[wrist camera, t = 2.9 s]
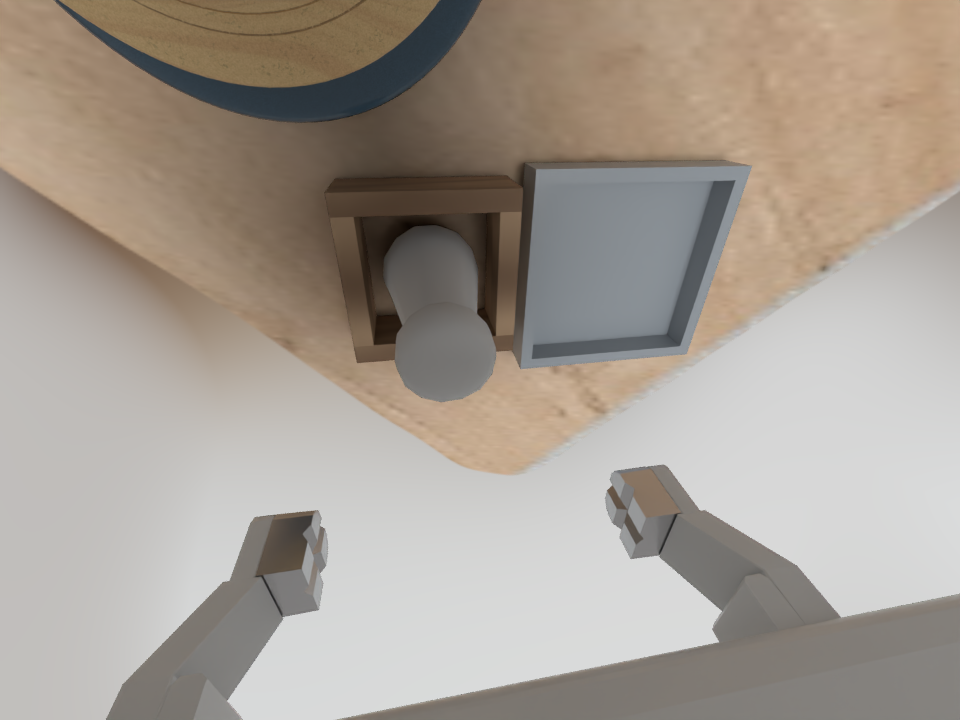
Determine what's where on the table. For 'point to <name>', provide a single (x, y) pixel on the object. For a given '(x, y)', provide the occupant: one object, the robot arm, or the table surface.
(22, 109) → the table surface
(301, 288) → the table surface
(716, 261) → the tray
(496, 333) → the socket block
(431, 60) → the canister
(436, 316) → the salt shaker
